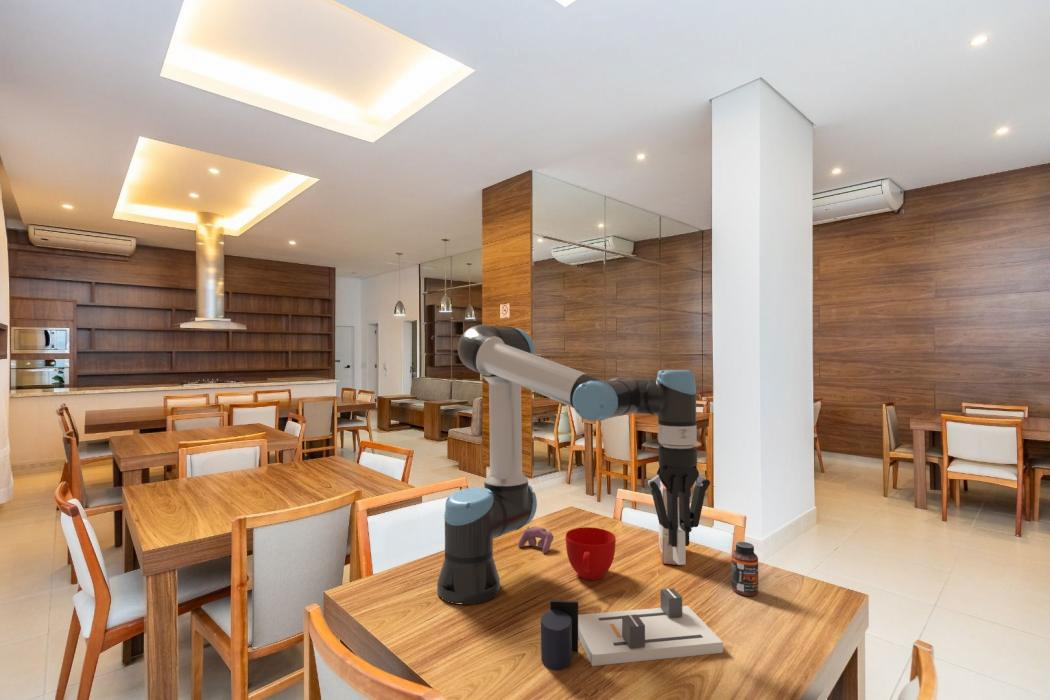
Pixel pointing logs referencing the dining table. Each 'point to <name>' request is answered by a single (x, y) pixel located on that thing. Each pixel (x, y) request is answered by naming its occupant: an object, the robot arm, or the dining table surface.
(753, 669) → the dining table surface
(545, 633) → the speaker
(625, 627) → the fader near
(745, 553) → the supplement bottle
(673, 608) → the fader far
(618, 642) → the mixing board
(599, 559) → the ceramic cup
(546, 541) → the purple arched piece
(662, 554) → the cracker box
